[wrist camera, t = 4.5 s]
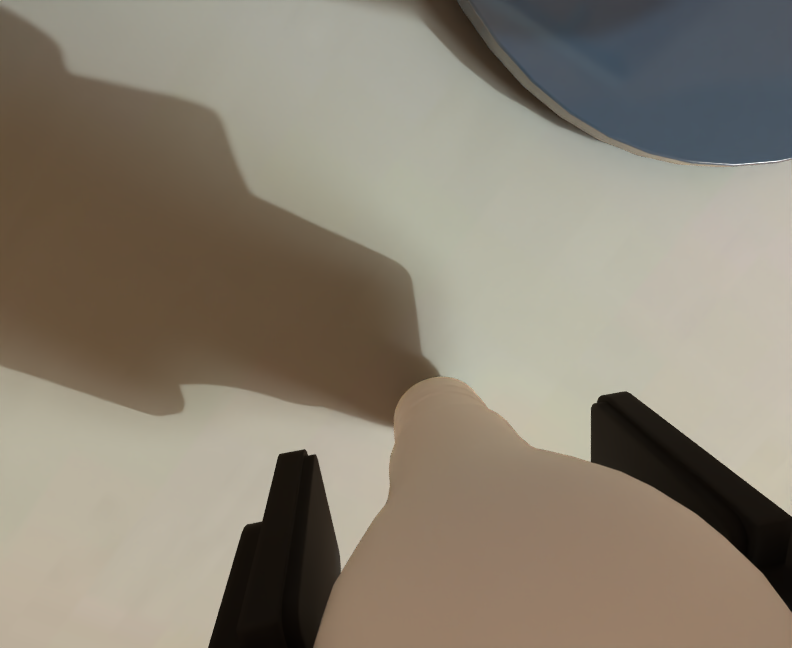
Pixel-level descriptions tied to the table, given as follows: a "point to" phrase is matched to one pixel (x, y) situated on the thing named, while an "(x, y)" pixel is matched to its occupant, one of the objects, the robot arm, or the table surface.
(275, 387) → the table surface
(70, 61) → the table surface
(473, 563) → the lightbulb
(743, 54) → the lid
